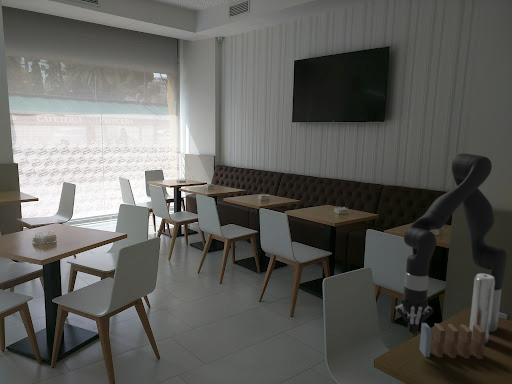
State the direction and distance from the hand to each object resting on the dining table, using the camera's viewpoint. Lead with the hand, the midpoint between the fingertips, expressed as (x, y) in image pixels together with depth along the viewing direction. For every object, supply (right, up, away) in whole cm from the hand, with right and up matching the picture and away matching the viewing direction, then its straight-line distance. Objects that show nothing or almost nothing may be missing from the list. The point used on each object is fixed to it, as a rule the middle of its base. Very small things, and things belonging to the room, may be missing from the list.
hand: (412, 332), depth 137 cm
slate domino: (+5, -7, +1) cm, 9 cm away
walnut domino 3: (+18, -8, 0) cm, 20 cm away
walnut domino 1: (+9, -8, +1) cm, 12 cm away
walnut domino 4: (+23, -8, 0) cm, 24 cm away
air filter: (+29, -7, +11) cm, 32 cm away
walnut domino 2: (+14, -8, 0) cm, 16 cm away
